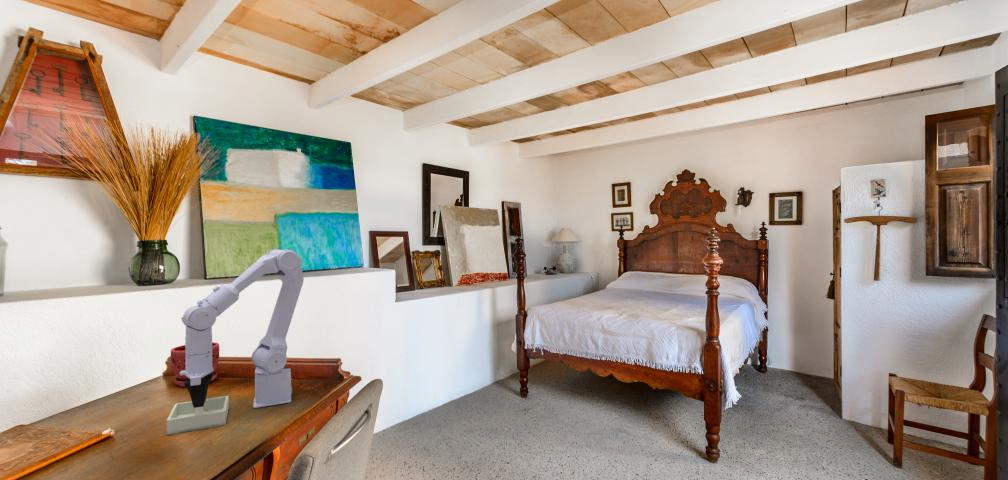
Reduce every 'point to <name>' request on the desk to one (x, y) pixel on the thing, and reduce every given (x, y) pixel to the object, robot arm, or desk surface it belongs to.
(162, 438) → the desk surface
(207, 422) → the box
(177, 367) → the plant pot
